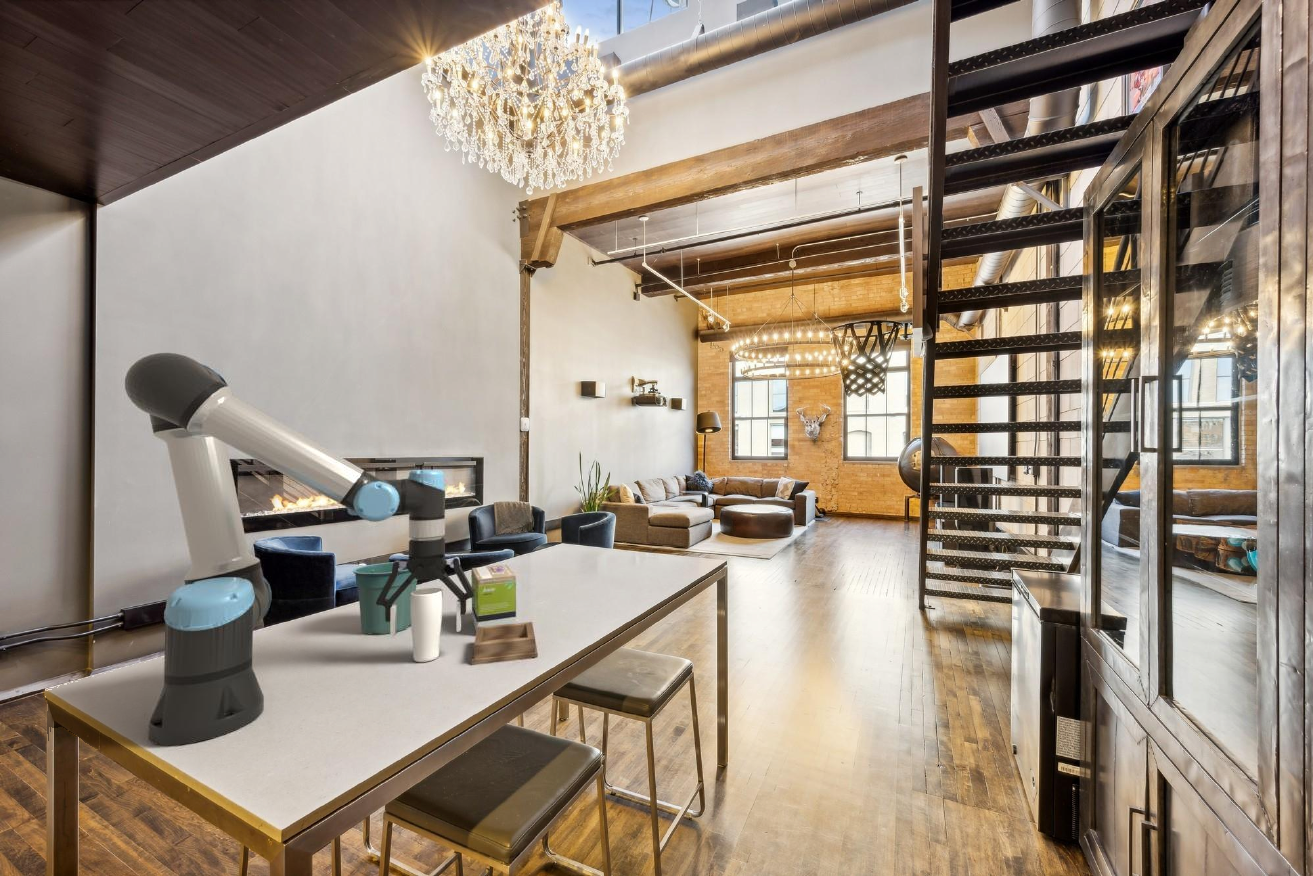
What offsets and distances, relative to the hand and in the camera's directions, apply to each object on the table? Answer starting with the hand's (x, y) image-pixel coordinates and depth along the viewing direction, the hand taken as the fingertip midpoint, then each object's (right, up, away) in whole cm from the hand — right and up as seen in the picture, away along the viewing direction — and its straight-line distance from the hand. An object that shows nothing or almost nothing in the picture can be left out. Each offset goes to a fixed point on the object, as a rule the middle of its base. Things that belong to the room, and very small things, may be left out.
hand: (426, 632), depth 119 cm
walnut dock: (+16, -6, +5) cm, 18 cm away
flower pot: (-20, -7, +22) cm, 31 cm away
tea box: (+8, -7, +23) cm, 25 cm away
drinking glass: (0, -6, 0) cm, 6 cm away
